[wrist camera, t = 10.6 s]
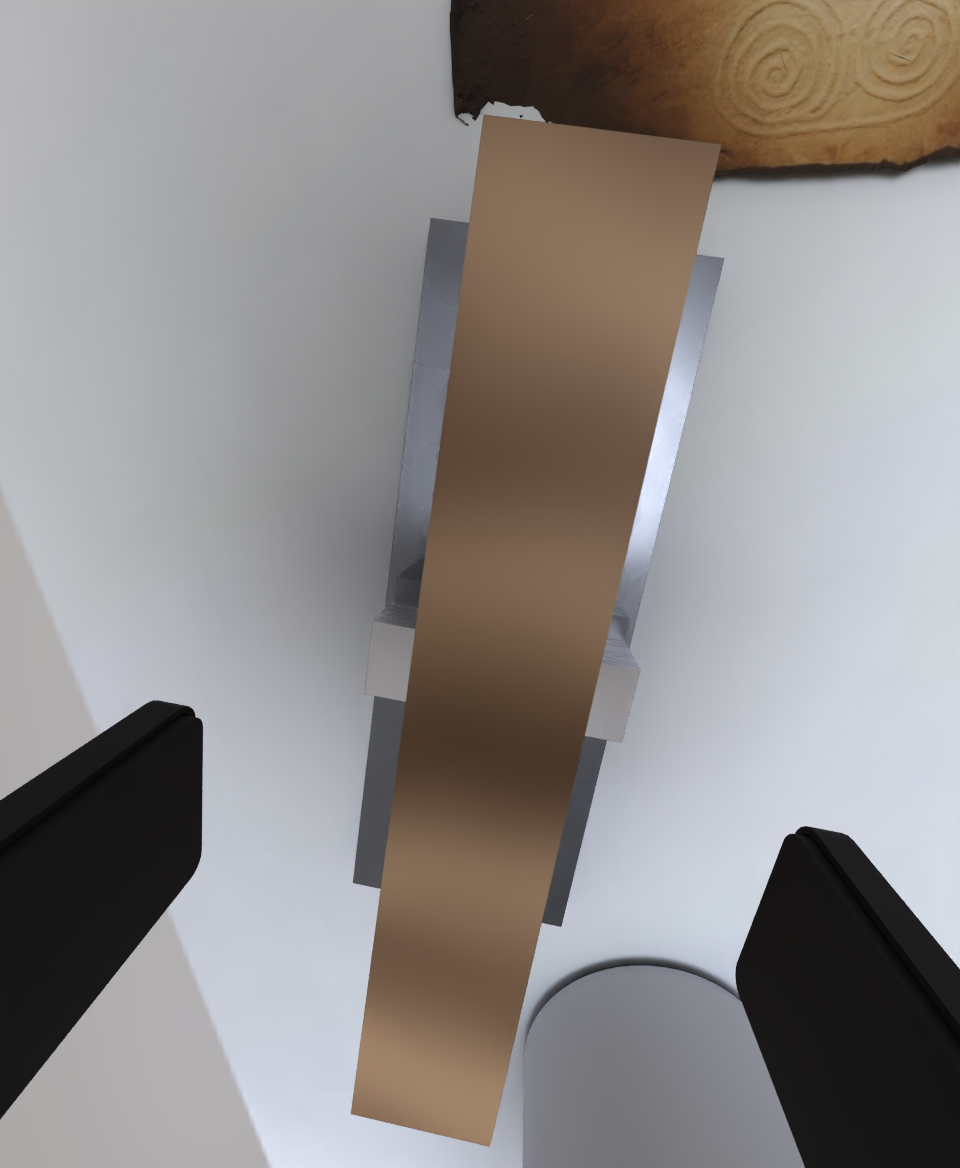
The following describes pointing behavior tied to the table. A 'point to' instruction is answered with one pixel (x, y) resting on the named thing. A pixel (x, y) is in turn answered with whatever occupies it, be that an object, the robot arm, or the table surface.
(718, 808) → the table surface
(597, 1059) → the cylinder vase
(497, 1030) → the walnut bar
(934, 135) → the parchment
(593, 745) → the stand
